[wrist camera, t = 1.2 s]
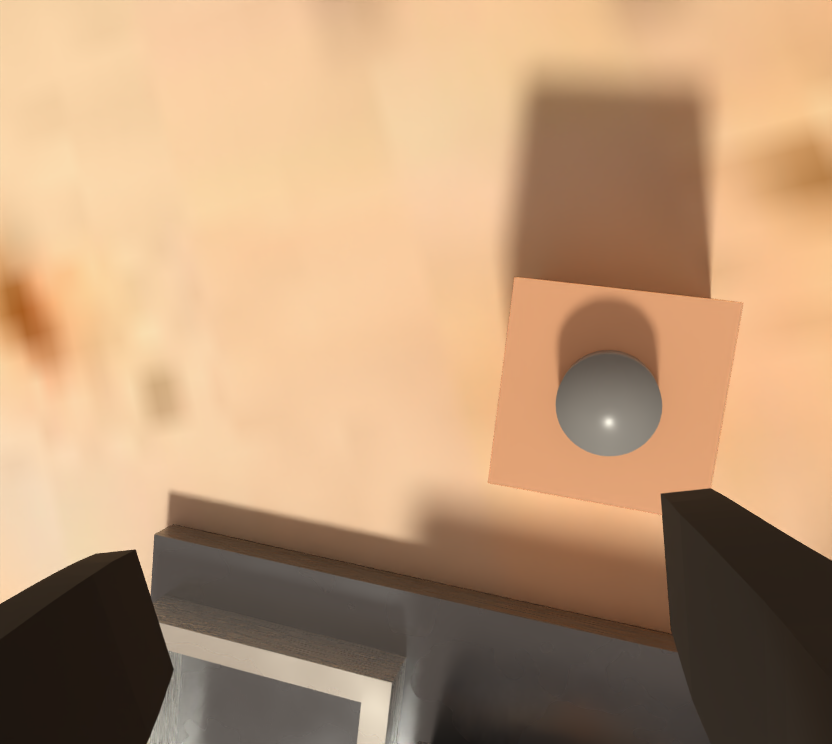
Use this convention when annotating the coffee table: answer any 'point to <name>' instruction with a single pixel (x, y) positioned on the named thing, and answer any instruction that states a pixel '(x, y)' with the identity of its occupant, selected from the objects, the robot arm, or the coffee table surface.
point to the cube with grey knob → (612, 392)
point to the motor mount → (393, 658)
